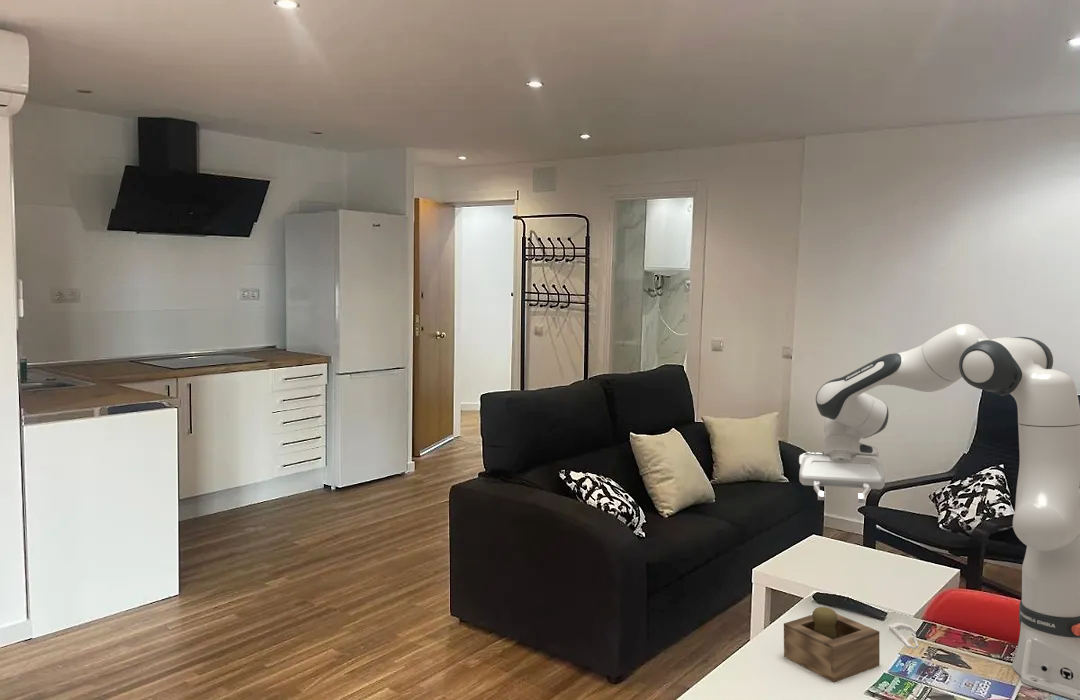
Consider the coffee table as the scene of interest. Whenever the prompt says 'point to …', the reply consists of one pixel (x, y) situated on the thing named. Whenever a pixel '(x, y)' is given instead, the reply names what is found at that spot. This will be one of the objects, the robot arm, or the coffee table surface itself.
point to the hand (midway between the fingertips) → (841, 500)
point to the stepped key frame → (894, 628)
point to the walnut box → (832, 647)
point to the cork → (825, 622)
